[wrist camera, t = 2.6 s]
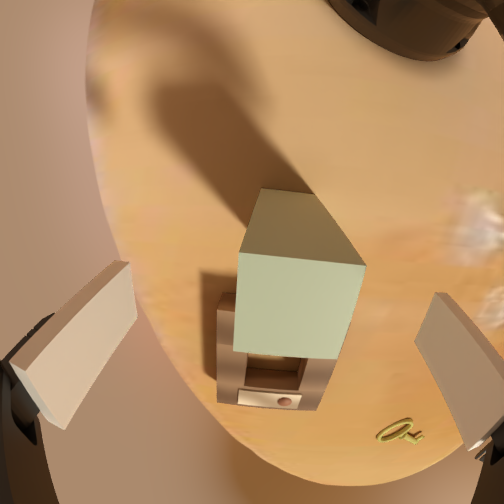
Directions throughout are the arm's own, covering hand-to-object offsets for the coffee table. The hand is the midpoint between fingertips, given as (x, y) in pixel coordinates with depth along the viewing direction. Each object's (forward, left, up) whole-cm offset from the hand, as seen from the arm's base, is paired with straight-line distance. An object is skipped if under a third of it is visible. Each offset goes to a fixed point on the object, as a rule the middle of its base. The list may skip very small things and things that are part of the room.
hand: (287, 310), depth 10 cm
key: (+36, +28, -14) cm, 47 cm away
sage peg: (0, 0, -14) cm, 14 cm away
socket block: (+15, +1, -14) cm, 20 cm away
